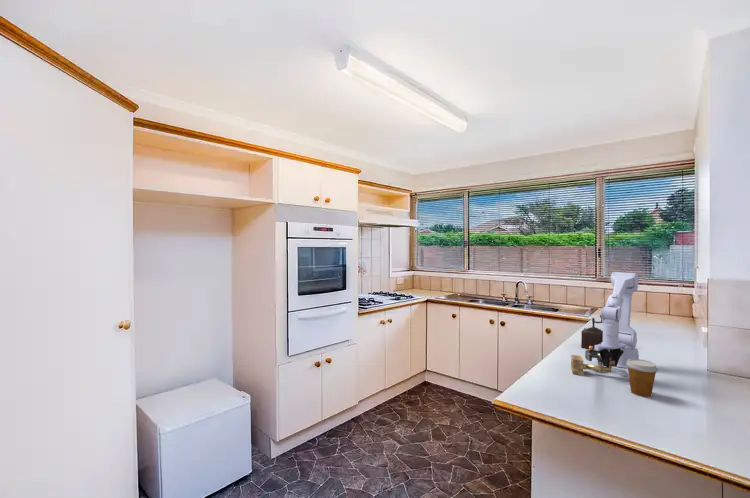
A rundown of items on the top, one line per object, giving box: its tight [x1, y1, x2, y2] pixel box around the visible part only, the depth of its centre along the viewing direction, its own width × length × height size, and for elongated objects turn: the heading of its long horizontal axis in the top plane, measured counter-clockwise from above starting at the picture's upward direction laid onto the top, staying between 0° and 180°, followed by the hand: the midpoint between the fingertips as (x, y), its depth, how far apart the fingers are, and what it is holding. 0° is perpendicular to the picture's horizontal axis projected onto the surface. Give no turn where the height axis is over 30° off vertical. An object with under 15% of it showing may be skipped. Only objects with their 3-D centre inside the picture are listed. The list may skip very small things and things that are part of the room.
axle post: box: [594, 360, 608, 374], centre depth 158 cm, size 6×6×4 cm
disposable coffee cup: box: [626, 359, 659, 398], centre depth 133 cm, size 10×10×12 cm
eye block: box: [570, 354, 584, 376], centre depth 155 cm, size 4×7×6 cm, turn 156°
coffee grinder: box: [580, 314, 603, 350], centre depth 193 cm, size 16×11×18 cm
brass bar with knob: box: [583, 359, 615, 373], centre depth 152 cm, size 13×4×6 cm, turn 66°
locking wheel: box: [584, 346, 611, 362], centre depth 158 cm, size 10×12×5 cm
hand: (610, 365), depth 150 cm, fingers closed on brass bar with knob, 4 cm apart
